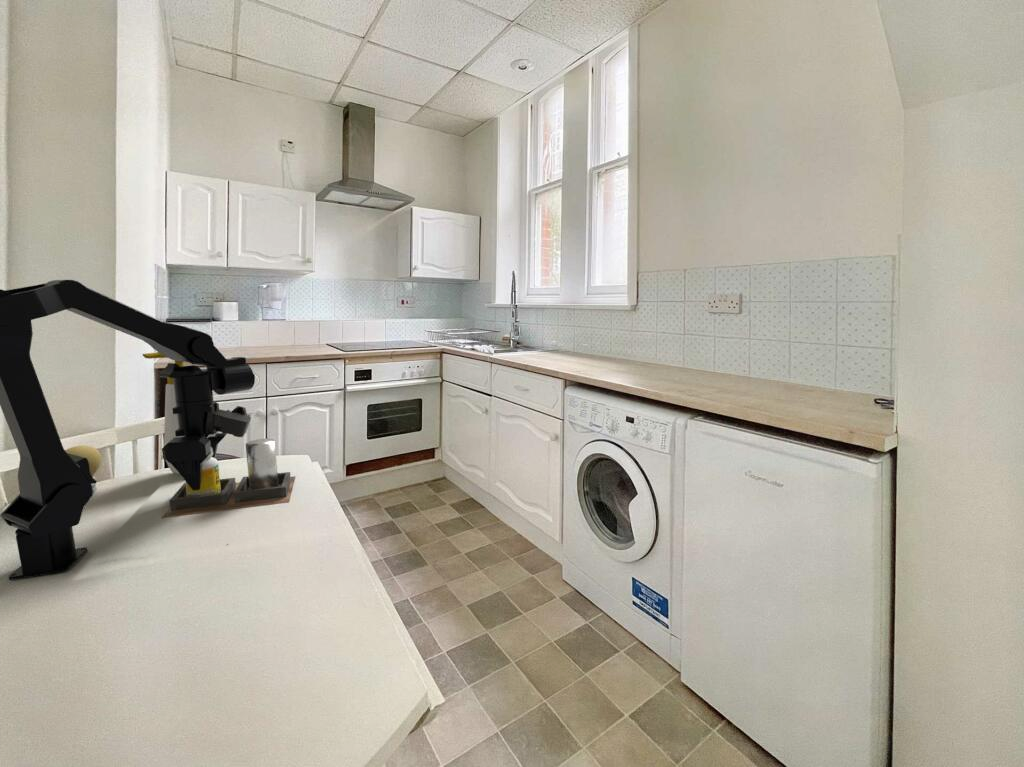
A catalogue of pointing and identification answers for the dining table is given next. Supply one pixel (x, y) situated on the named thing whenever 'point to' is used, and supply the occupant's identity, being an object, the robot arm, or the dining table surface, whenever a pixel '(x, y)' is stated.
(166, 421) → the soap bottle
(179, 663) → the dining table surface
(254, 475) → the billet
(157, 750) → the dining table surface
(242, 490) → the brown divided tray
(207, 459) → the supplement bottle
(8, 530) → the dining table surface
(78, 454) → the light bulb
